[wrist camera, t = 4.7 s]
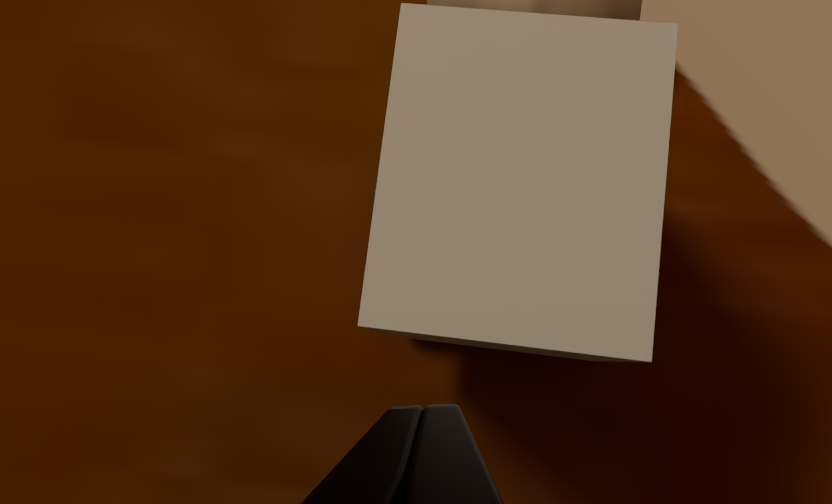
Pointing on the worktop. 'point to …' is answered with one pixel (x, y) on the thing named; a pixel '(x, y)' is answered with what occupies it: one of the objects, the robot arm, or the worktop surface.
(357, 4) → the worktop surface
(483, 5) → the cylinder
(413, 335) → the slab
